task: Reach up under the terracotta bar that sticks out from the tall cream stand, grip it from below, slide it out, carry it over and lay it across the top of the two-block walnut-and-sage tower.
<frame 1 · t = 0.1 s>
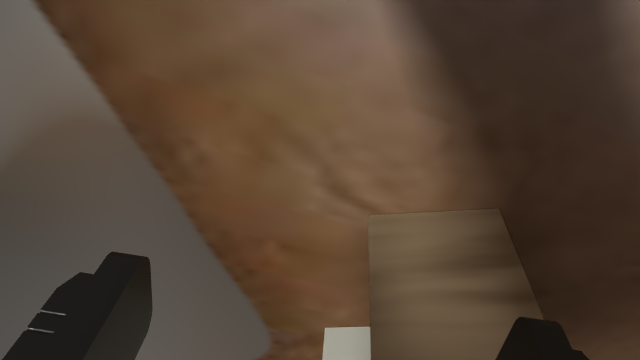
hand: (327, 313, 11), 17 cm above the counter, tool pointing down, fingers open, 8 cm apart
tower: (432, 260, 32), on the counter
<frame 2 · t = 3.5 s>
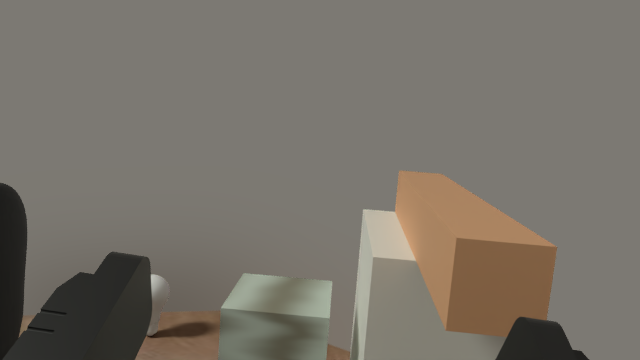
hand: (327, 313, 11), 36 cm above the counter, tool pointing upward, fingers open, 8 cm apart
bar: (439, 250, 33), point 32 cm above the counter, touching stand
lightbulb: (149, 336, 85), on the counter
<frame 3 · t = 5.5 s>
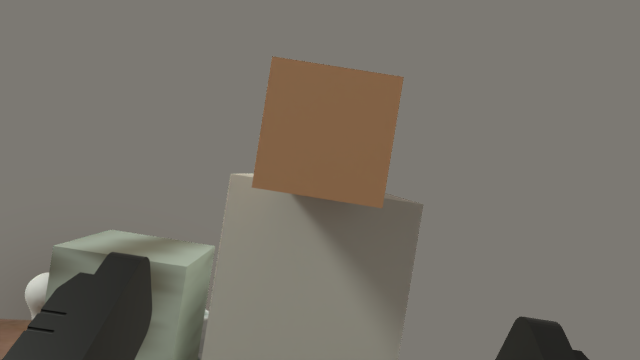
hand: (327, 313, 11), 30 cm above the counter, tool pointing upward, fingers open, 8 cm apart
bar: (321, 186, 27), point 32 cm above the counter, touching stand
lightbulb: (40, 344, 74), on the counter
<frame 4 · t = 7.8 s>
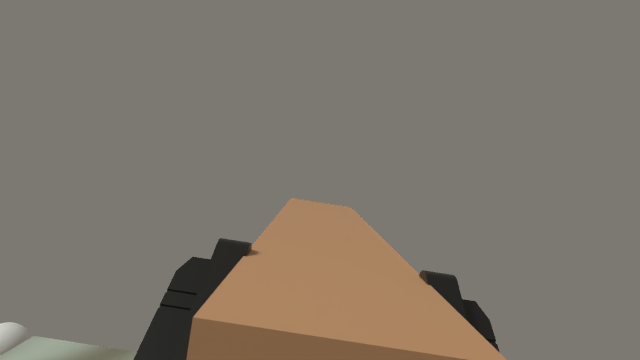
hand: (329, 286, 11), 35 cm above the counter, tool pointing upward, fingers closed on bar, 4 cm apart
bar: (310, 324, 19), point 32 cm above the counter, touching gripper, stand
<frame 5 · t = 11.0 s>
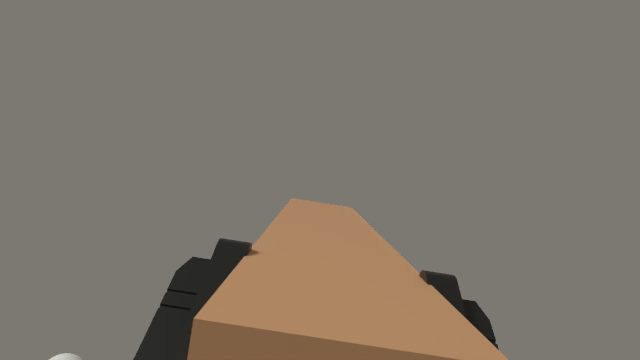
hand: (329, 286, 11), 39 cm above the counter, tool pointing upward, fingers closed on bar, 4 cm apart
bar: (311, 324, 19), point 36 cm above the counter, touching gripper
when the fingers open (30 cm above the counter, at t = 14.2 s): bar stays where it is, resting on tower.
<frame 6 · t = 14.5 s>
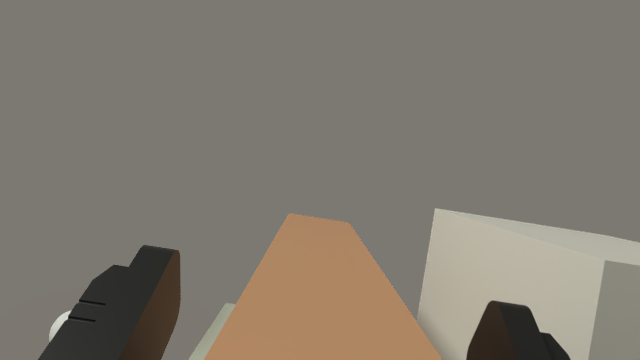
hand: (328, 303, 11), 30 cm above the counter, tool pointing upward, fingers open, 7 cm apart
bar: (306, 350, 19), point 26 cm above the counter, touching tower
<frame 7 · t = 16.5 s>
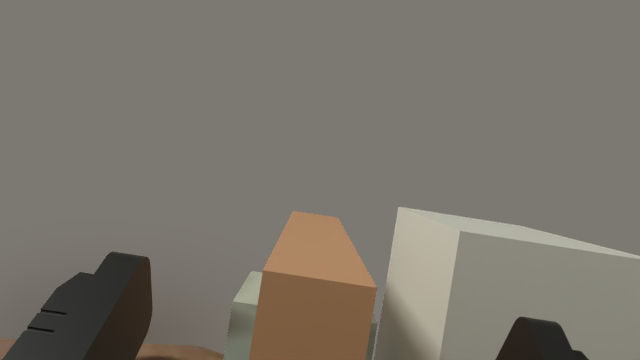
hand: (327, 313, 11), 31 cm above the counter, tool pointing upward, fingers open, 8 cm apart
bar: (306, 296, 30), point 26 cm above the counter, touching tower
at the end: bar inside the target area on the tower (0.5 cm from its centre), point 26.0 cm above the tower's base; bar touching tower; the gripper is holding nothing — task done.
